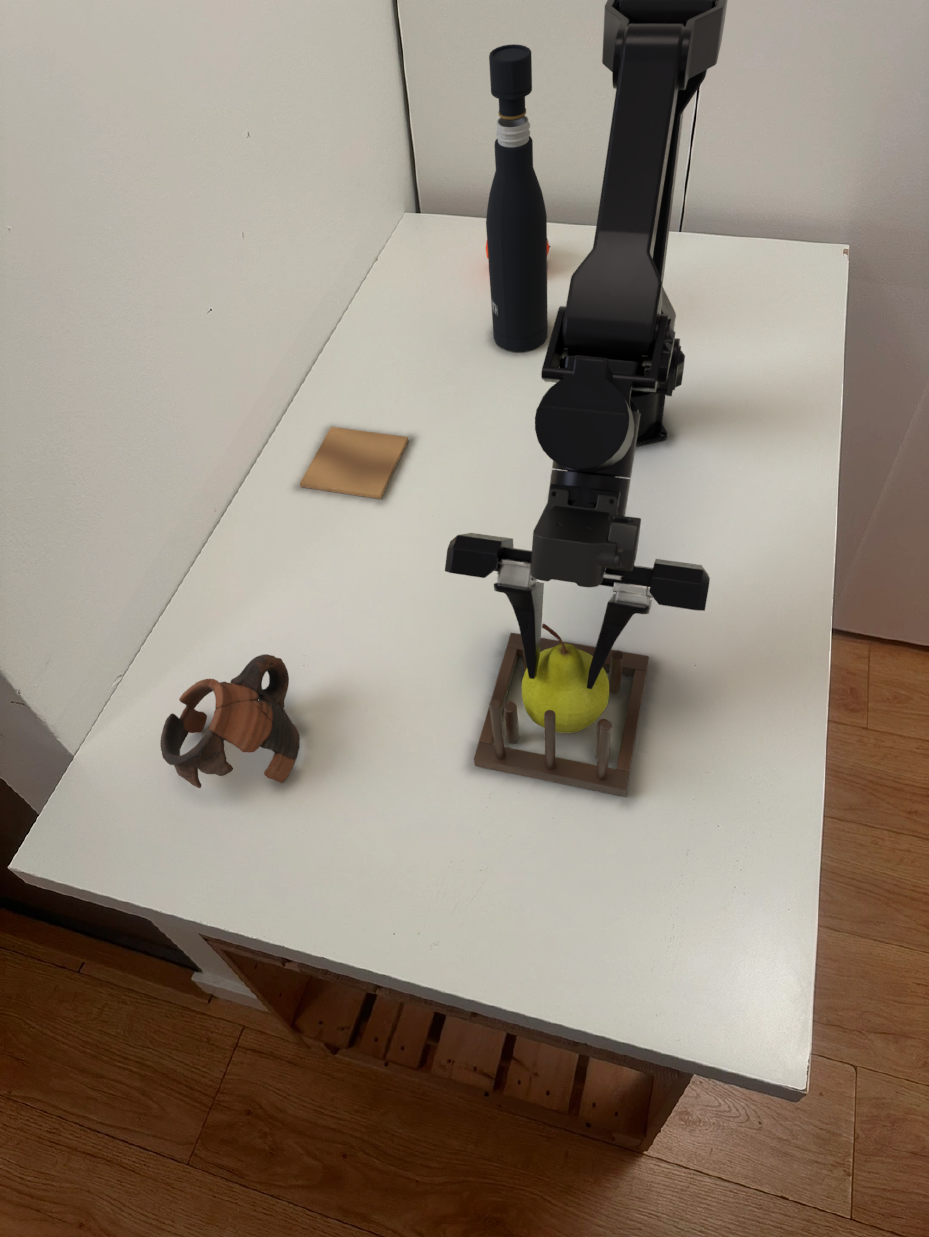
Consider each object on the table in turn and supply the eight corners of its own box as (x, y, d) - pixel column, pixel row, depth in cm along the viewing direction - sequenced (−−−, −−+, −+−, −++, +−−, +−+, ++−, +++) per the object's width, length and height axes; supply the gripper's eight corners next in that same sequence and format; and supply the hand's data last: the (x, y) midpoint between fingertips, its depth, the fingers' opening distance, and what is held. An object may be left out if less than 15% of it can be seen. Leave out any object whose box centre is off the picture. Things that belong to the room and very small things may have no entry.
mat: (331, 430, 95) (330, 426, 95) (408, 440, 93) (408, 436, 93) (300, 487, 90) (299, 483, 90) (381, 499, 88) (380, 495, 88)
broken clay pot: (275, 821, 68) (193, 785, 63) (213, 795, 75) (133, 760, 69) (339, 684, 72) (266, 638, 66) (275, 670, 78) (203, 628, 73)
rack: (511, 640, 76) (506, 574, 69) (648, 663, 73) (658, 598, 66) (474, 766, 69) (465, 707, 62) (625, 797, 66) (633, 740, 59)
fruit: (616, 691, 72) (627, 603, 62) (593, 760, 68) (601, 679, 59) (537, 669, 74) (536, 581, 64) (511, 735, 70) (506, 653, 61)
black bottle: (557, 328, 103) (558, 43, 79) (530, 358, 100) (522, 72, 76) (511, 314, 105) (498, 34, 81) (483, 343, 102) (461, 61, 78)
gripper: (437, 453, 57) (410, 683, 59) (730, 489, 53) (687, 734, 55) (476, 461, 67) (452, 655, 70) (721, 491, 63) (686, 695, 66)
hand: (560, 682), depth 65 cm, fingers closed on fruit, 4 cm apart
